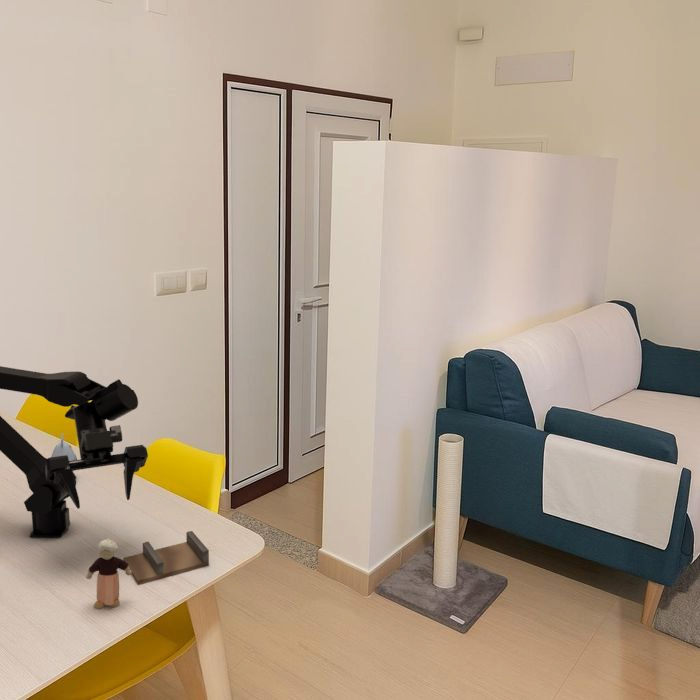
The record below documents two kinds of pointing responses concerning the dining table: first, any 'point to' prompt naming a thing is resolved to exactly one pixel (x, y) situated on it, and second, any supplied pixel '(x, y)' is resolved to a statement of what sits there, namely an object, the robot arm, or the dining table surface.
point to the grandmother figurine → (108, 574)
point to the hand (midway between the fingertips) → (104, 503)
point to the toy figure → (64, 450)
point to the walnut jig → (168, 559)
